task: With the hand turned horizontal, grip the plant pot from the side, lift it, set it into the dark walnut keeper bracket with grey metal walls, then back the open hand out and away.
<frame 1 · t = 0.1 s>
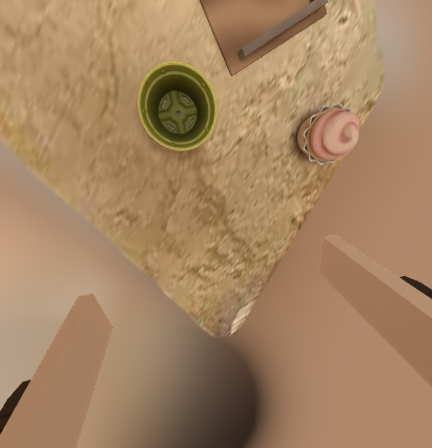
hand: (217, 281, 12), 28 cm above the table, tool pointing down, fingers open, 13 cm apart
plant pot: (177, 113, 33), on the table
cupcake: (310, 134, 38), on the table
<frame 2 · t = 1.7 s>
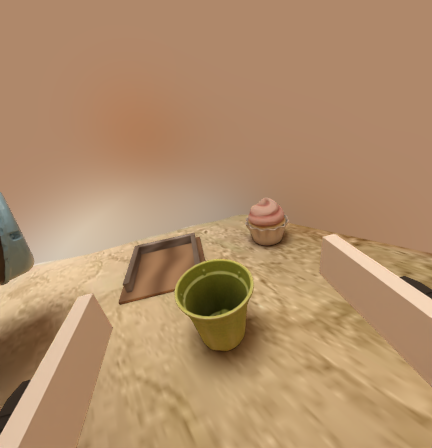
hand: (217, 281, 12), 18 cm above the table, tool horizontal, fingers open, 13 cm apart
plant pot: (223, 331, 29), on the table
cupcake: (267, 239, 47), on the table
keeper bracket: (166, 265, 44), on the table
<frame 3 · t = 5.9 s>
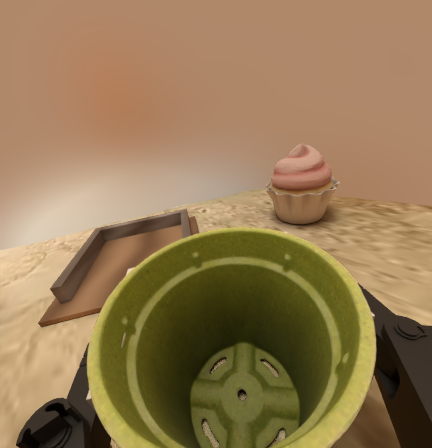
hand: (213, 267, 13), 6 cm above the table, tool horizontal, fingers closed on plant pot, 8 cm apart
plant pot: (244, 402, 12), on the table, touching gripper
cupcake: (299, 216, 30), on the table
keeper bracket: (140, 257, 27), on the table
when the fingers open (8 cm above the table, at t = 11.2 s): plant pot drops 1 cm, resting on keeper bracket.
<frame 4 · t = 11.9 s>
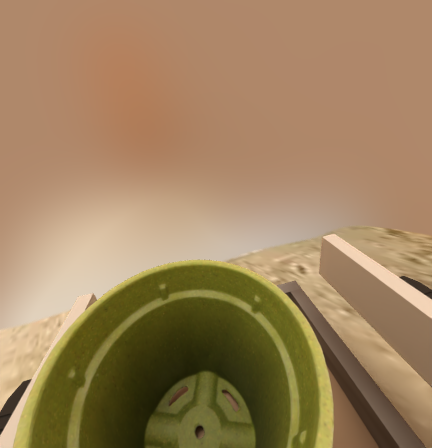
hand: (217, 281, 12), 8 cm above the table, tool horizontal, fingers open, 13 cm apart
plant pot: (201, 439, 12), point 1 cm above the table, touching gripper, keeper bracket
keeper bracket: (247, 416, 13), on the table
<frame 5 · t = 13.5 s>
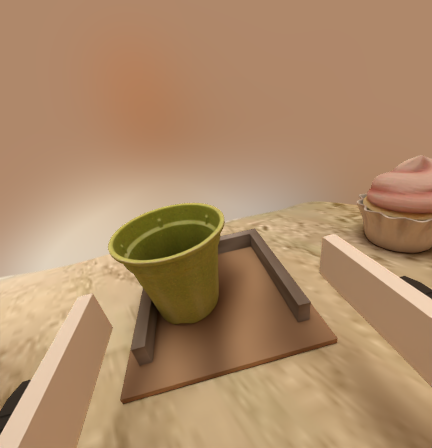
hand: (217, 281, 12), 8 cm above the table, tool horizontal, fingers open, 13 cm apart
plant pot: (190, 301, 21), resting on keeper bracket
cupcake: (396, 240, 25), on the table
keeper bracket: (215, 292, 22), on the table
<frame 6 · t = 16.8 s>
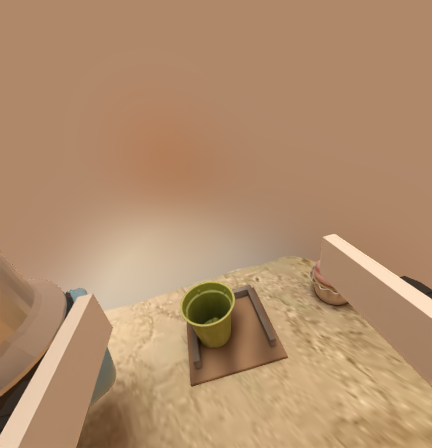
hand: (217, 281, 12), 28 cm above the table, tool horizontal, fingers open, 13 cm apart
plant pot: (215, 334, 39), resting on keeper bracket
cupcake: (331, 294, 44), on the table
keeper bracket: (228, 328, 40), on the table
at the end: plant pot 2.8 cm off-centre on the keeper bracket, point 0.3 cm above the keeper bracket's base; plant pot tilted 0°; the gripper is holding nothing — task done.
